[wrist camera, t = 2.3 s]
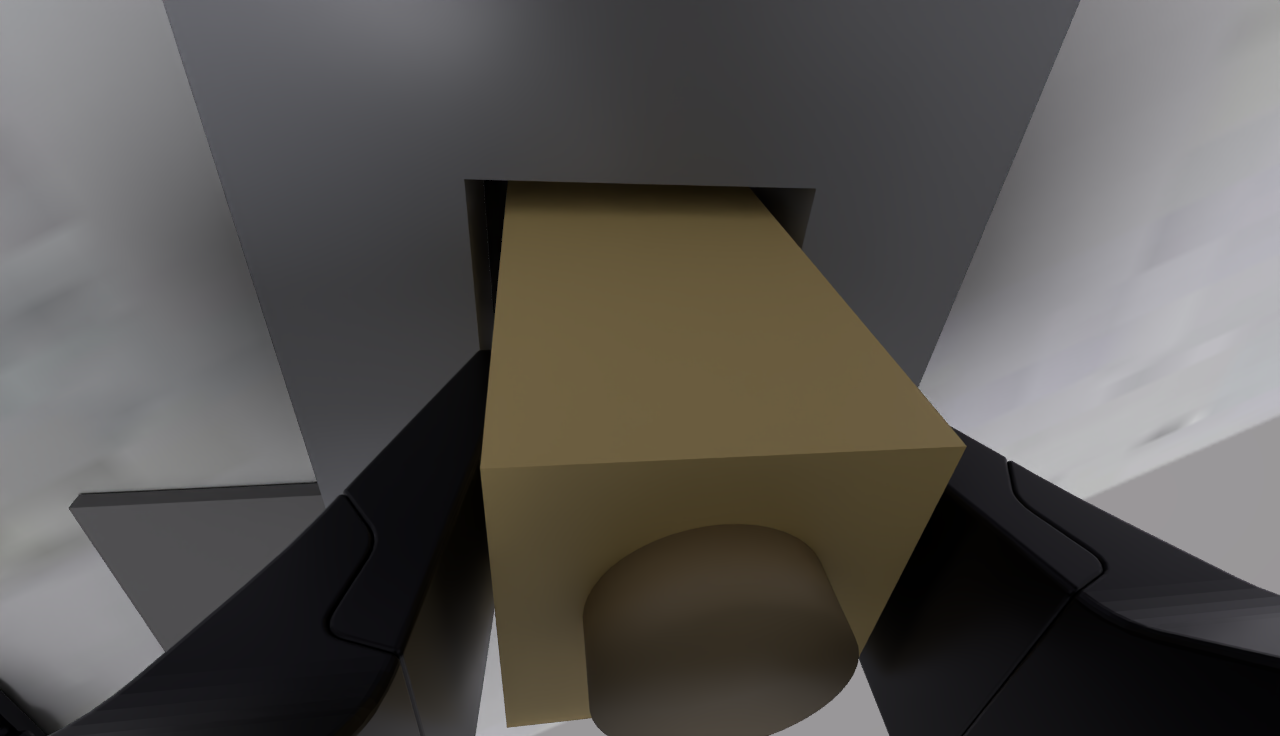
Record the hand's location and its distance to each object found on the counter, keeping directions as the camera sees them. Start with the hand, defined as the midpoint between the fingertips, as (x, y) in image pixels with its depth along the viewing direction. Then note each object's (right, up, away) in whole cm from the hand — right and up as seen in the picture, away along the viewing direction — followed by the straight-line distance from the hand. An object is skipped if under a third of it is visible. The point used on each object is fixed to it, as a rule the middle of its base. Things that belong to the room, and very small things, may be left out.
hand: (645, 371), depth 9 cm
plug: (-1, +2, +3) cm, 4 cm away
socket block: (-1, +2, +3) cm, 4 cm away
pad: (-9, -6, +8) cm, 13 cm away
